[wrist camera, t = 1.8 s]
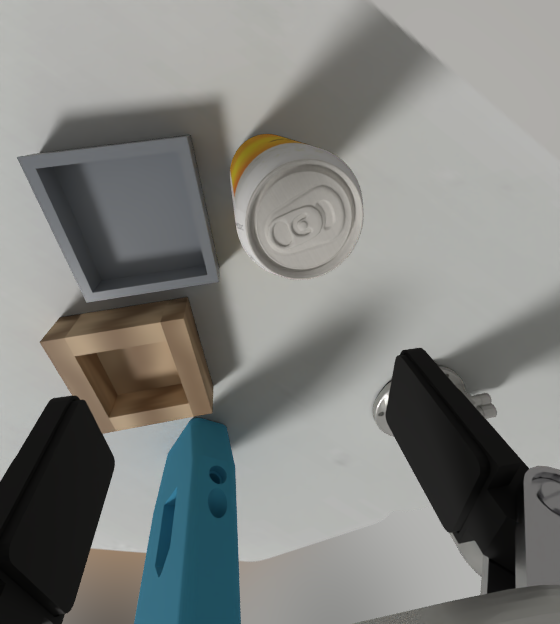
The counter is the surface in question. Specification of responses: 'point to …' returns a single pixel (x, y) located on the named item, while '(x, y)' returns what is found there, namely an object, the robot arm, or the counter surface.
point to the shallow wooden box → (133, 363)
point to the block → (194, 534)
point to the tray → (127, 215)
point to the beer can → (294, 206)
